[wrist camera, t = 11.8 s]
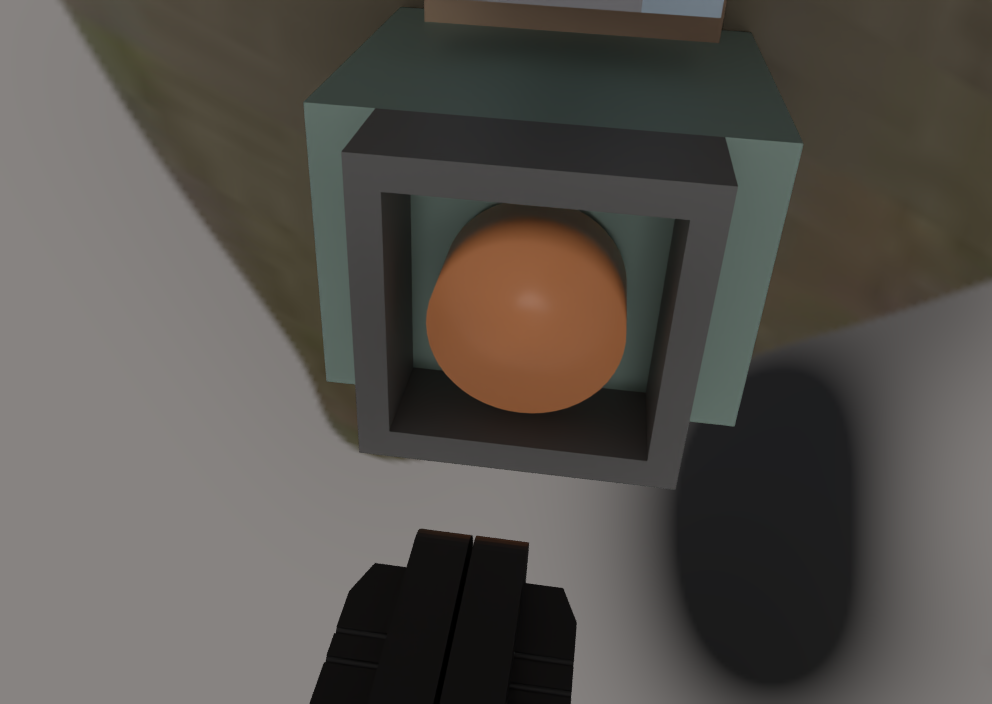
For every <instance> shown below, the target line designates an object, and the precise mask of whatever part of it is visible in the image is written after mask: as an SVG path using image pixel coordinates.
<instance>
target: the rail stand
mask: <svg viewBox="0 0 992 704" xmlns="http://www.w3.org/2000/svg"><path fill="white" fill-rule="evenodd" d="M726 3H727V0H724V3H723V8H722V14H721V18H713V17H699V16H685V15H671V14H657V13H643V12H628V11H613V10H599V9H585V8H571V7H557V6H543V5H529V4H515V3H501V2H487V1H473V0H424V21H425V22H438V23H452V24H465V25H479V26H493V27H506V28H520V29H534V30H547V31H561V32H574V33H588V34H602V35H615V36H629V37H642V38H656V39H670V40H683V41H697V42H710V43H719V42H720V37H721V31H722V25H723V20H724V14H725V8H726Z"/></svg>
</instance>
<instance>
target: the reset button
mask: <svg viewBox="0 0 992 704" xmlns="http://www.w3.org/2000/svg"><path fill="white" fill-rule="evenodd" d="M426 328H427V336H428V340H429V345H430V347H431V350H432V352H433V355H434V357H435V359H436V360H437V362H438V364H439V366H440V367H441V368H442V370H443V371H444V372H445V374H446V375H447V376H448V377H449V378H450V379H451V380H452V381H453V382H454V383H455V384H456V385H457V386H458V387H459V388H461V389H462V390H463V391H464V392H466V393H467V394H469V395H470V396H472V397H474V398H475V399H477V400H479V401H481V402H483V403H486V404H488V405H491V406H493V407H496V408H500V409H503V410H507V411H513V412H519V413H545V412H552V411H557V410H561V409H565V408H568V407H571V406H573V405H576V404H578V403H580V402H582V401H584V400H586V399H587V398H589V397H591V396H592V395H593V394H595V393H596V392H597V391H599V390H600V389H601V388H602V387H603V386H604V385H605V384H606V383H607V382H608V381H609V379H610V378H611V377H612V376H613V374H614V373H615V371H616V369H617V367H618V366H619V364H620V361H621V359H622V356H623V353H624V349H625V344H626V328H627V278H626V270H625V266H624V262H623V259H622V257H621V254H620V252H619V250H618V248H617V246H616V244H615V243H614V241H613V240H612V238H611V237H610V236H609V235H608V233H607V232H606V231H605V230H604V229H603V228H602V227H601V226H600V225H599V224H598V223H597V222H595V221H594V220H593V219H591V218H590V217H589V216H587V215H585V214H584V213H582V212H580V211H578V210H574V209H563V208H552V207H541V206H530V205H519V204H508V203H502V204H499V205H496V206H494V207H491V208H489V209H487V210H485V211H483V212H481V213H480V214H479V215H477V216H476V217H474V218H473V219H472V220H471V221H469V222H468V223H467V224H466V225H465V226H464V227H463V228H462V230H461V231H460V232H459V233H458V235H457V236H456V238H455V239H454V241H453V243H452V244H451V247H450V249H449V252H448V254H447V257H446V259H445V262H444V264H443V267H442V270H441V272H440V275H439V277H438V280H437V282H436V285H435V288H434V290H433V293H432V295H431V298H430V300H429V304H428V309H427V317H426Z"/></svg>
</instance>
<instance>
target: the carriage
mask: <svg viewBox="0 0 992 704" xmlns="http://www.w3.org/2000/svg"><path fill="white" fill-rule="evenodd" d="M473 1H487V2H501V3H515V4H529V5H543V6H557V7H571V8H585V9H599V10H613V11H628V12H643V13H657V14H671V15H685V16H699V17H713V18H721V14H722V8H723V3H724V0H473Z"/></svg>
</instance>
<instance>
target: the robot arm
mask: <svg viewBox="0 0 992 704" xmlns="http://www.w3.org/2000/svg"><path fill="white" fill-rule="evenodd" d="M528 551H529V543H528V542H521V541H513V540H506V539H498V538H490V537H483V536H476V538H475V541H474V544H473V536H472V535H465V534H458V533H450V532H442V531H434V530H427V529H419V530H418V532H417V535H416V537H415V540H414V544H413V548H412V551H411V554H410V558H409V561H408V564H407V567H400V566H392V565H385V564H378V563H375V564H374V565H373V566H372V567H371V568H370V569H369V570H368V571H367V572H366V573H365V575H364V576H363V577H362V578H361V579H360V580H359V581H358V582H357V583H356V584H355V585H354V587H353V588H352V589H351V590H350V591H349V593H348V596H347V599H346V602H345V604H344V607H343V610H342V613H341V616H340V618H339V621H338V624H337V629H336V633H334V635H333V638H332V641H331V644H330V647H329V650H328V652H327V657H326V662H325V663H324V664H323V667H322V670H321V672H320V675H319V678H318V681H317V684H316V687H315V689H314V692H313V695H312V698H311V701H310V704H571V692H572V679H573V678H572V677H573V662H574V652H575V639H576V625H577V623H576V620H575V617H574V615H573V612H572V610H571V607H570V605H569V602H568V599H567V597H566V594H565V592H564V589H563V588H558V587H551V586H543V585H536V584H528V583H526V573H527V562H528Z"/></svg>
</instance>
